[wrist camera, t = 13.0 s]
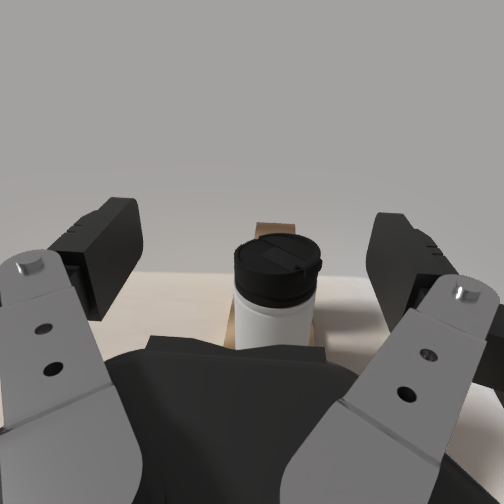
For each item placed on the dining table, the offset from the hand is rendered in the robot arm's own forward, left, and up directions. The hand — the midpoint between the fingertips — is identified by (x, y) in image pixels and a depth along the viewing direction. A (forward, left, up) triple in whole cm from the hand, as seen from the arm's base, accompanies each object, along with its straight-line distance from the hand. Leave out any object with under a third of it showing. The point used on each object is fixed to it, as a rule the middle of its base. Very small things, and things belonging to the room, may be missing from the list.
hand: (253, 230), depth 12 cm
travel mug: (-5, +10, -27) cm, 29 cm away
